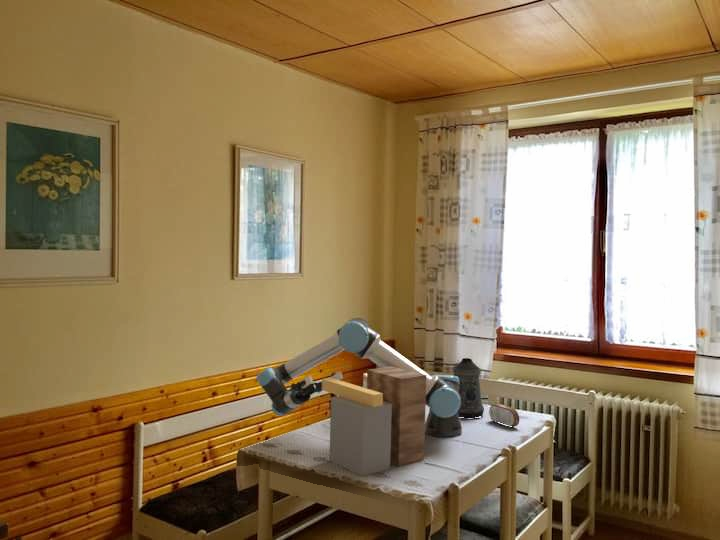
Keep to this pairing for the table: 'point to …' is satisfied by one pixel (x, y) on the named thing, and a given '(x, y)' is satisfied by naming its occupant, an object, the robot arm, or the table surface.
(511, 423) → the tin
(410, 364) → the robot arm
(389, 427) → the grey base
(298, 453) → the table surface
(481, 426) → the table surface
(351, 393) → the ochre bar
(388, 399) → the walnut pedestal
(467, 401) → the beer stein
